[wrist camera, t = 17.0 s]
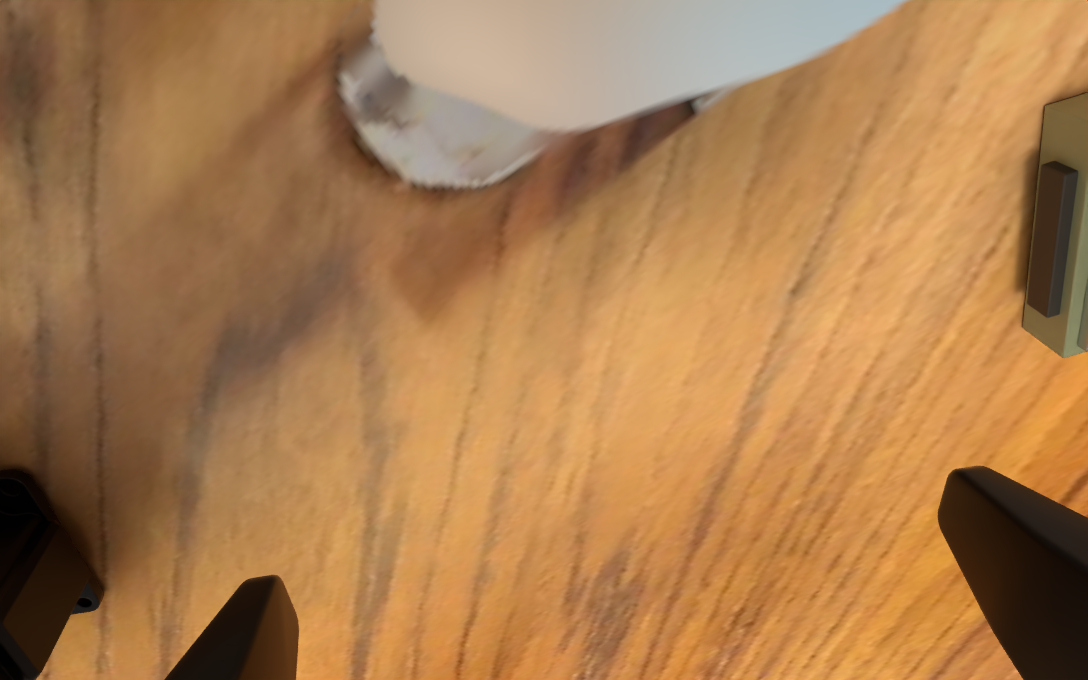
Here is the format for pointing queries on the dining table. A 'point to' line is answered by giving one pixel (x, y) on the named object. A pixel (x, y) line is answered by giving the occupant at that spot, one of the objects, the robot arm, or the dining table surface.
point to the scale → (1061, 232)
